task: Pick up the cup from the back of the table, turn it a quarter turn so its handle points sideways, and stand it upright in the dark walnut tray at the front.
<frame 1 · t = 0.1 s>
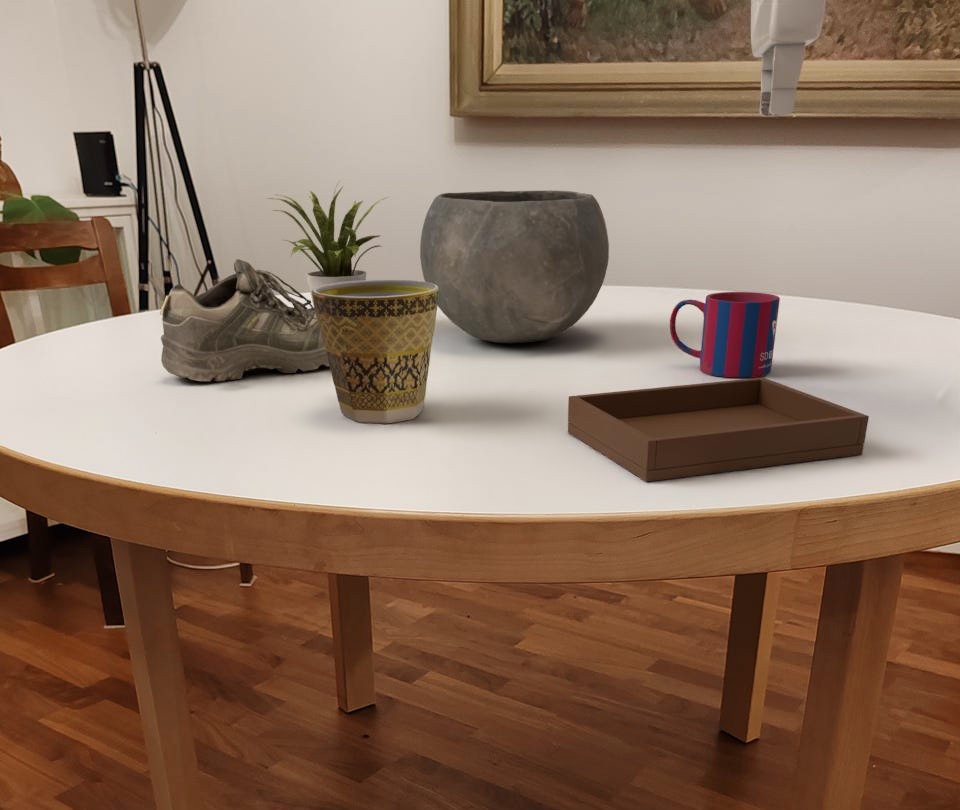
hand: (774, 115, 81), 22 cm above the table, tool pointing down, fingers open, 8 cm apart
bowl: (514, 341, 111), on the table
tray: (708, 443, 73), on the table
hiking shoe: (270, 370, 99), on the table
ceramic cup: (375, 412, 83), on the table
cup: (718, 371, 96), on the table
house plant: (329, 329, 119), on the table
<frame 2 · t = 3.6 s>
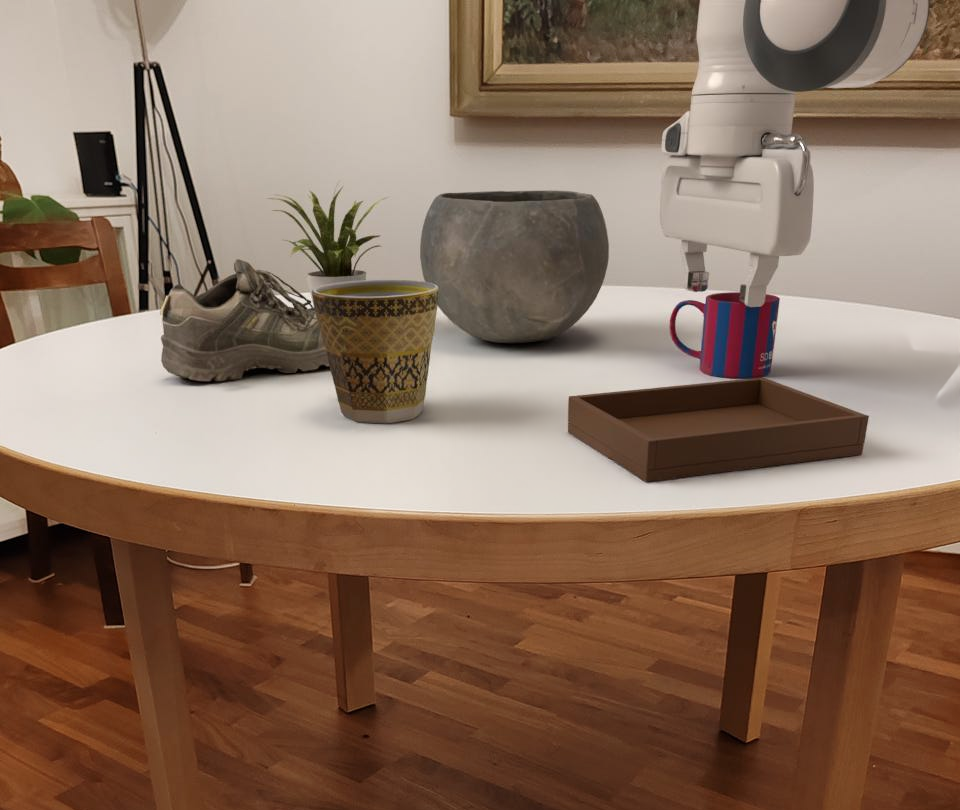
hand: (722, 298, 93), 7 cm above the table, tool pointing down, fingers open, 8 cm apart
cup: (718, 371, 96), on the table, touching gripper
everything else where it was.
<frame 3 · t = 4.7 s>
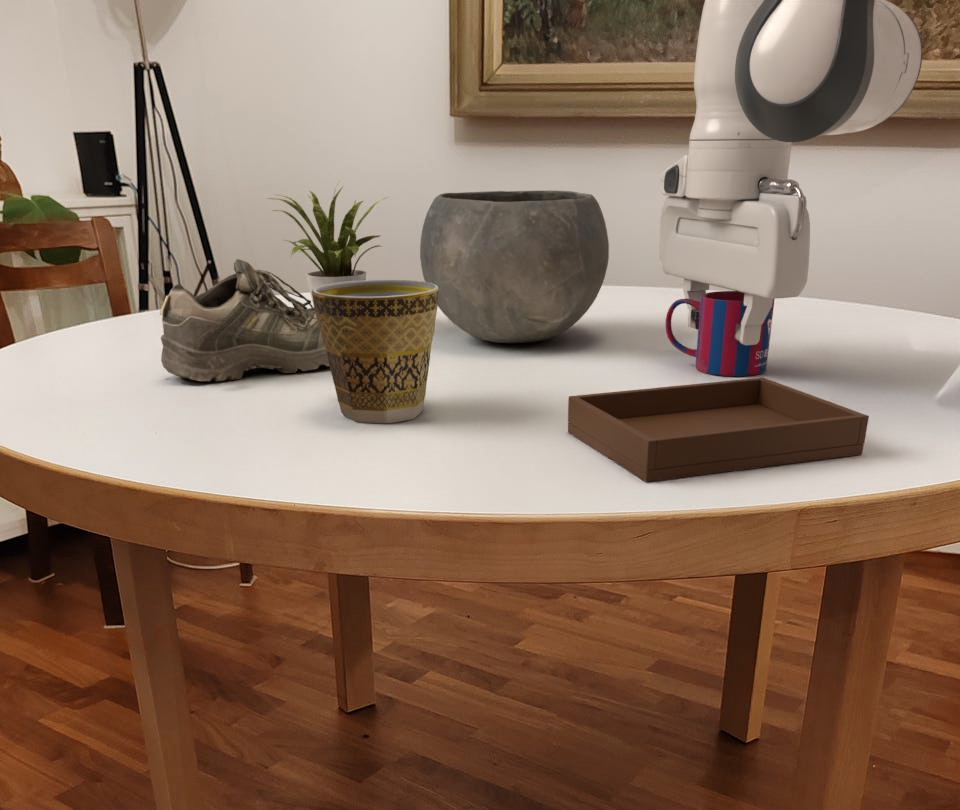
hand: (721, 335, 94), 3 cm above the table, tool pointing down, fingers closed on cup, 7 cm apart
cup: (713, 369, 96), on the table, touching gripper
everything else where it was.
when the fingers open (4 cm above the table, at t = 15.0 s): cup stays where it is, resting on tray.
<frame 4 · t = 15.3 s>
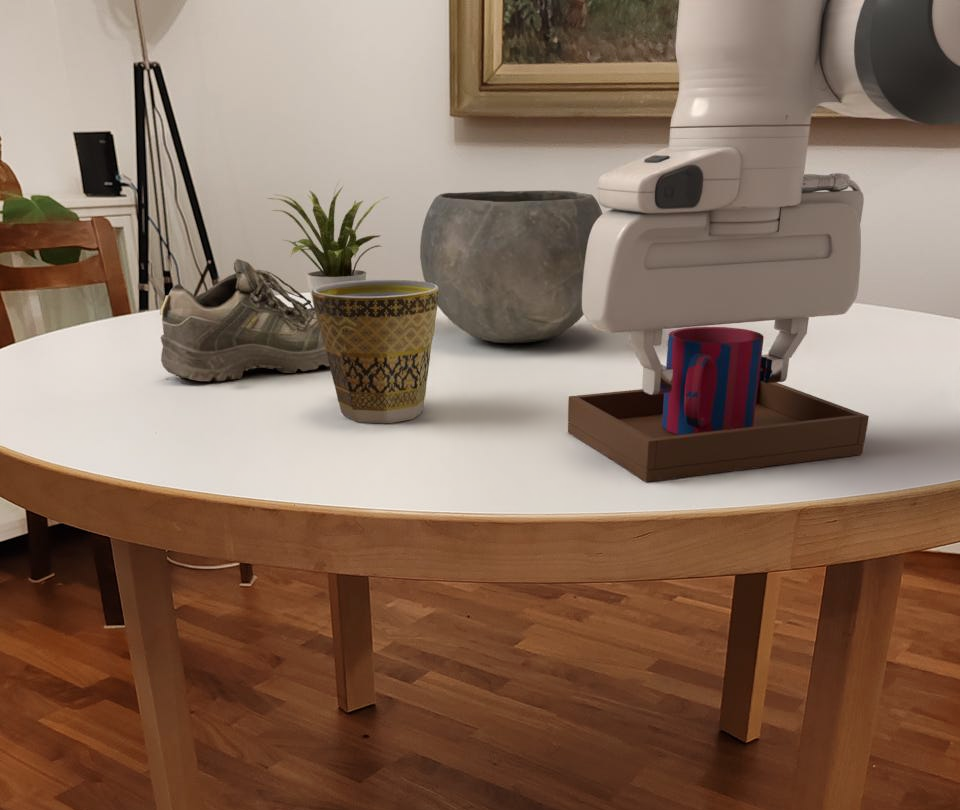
hand: (714, 386, 71), 4 cm above the table, tool pointing down, fingers open, 8 cm apart
cup: (699, 435, 73), point 1 cm above the table, touching tray
everything else where it was.
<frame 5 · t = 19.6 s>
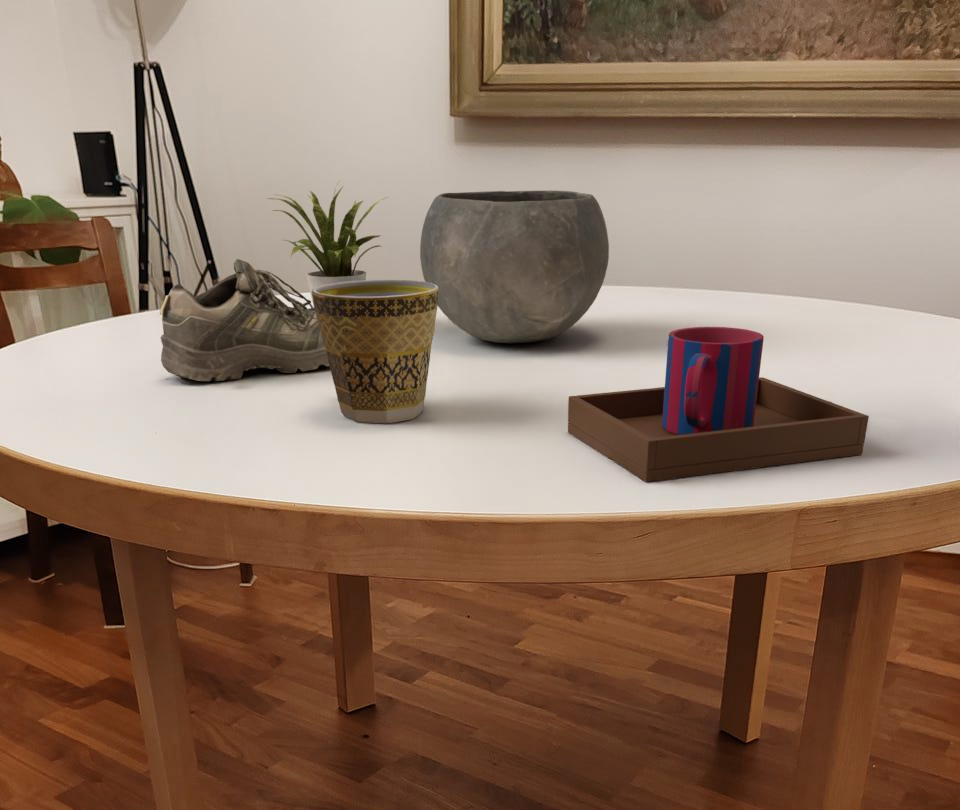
nothing on the table moved.
at the end: cup inside the target area in the tray (0.8 cm from its centre), point 0.6 cm above the tray's base; cup tilted 0°; the gripper is holding nothing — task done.
